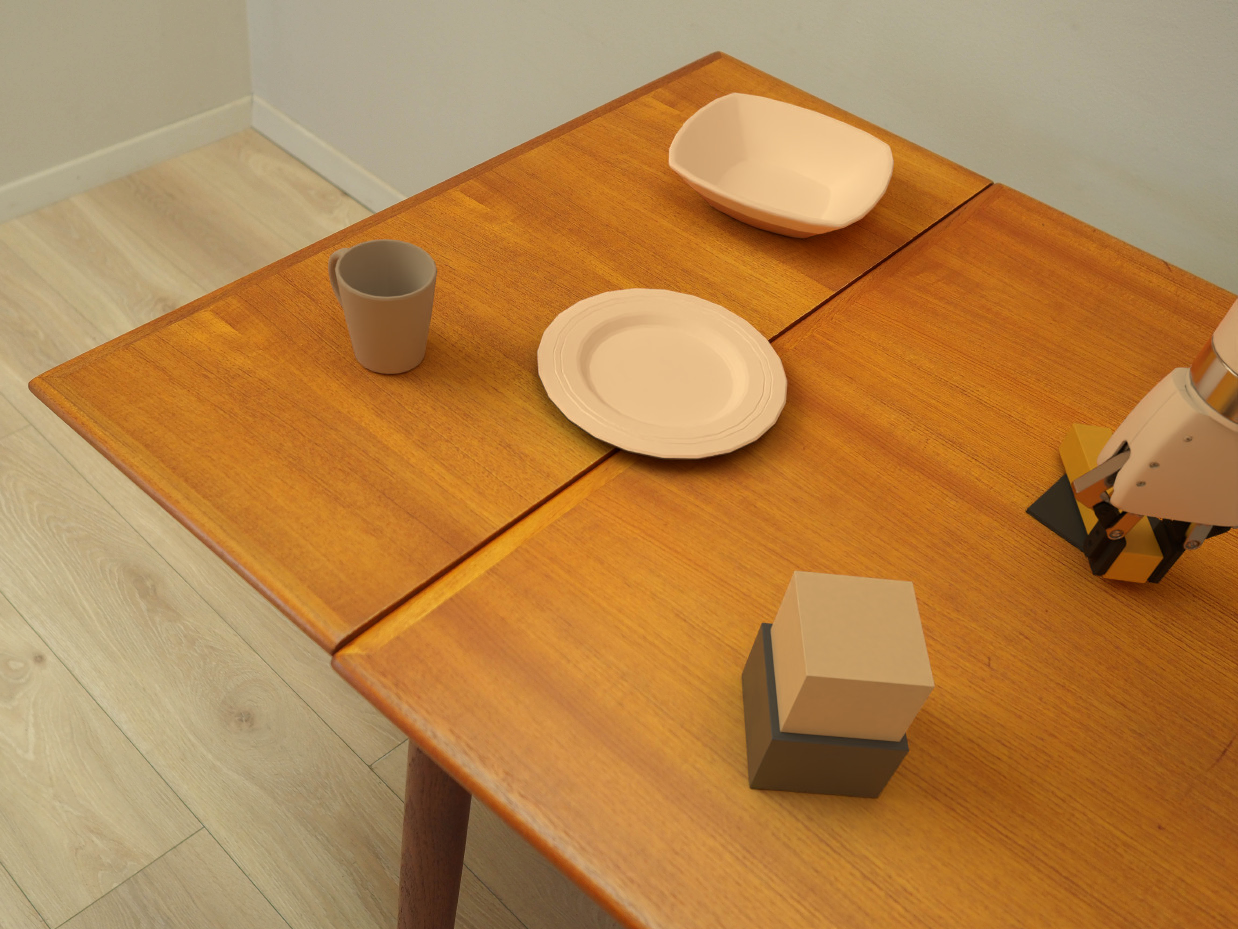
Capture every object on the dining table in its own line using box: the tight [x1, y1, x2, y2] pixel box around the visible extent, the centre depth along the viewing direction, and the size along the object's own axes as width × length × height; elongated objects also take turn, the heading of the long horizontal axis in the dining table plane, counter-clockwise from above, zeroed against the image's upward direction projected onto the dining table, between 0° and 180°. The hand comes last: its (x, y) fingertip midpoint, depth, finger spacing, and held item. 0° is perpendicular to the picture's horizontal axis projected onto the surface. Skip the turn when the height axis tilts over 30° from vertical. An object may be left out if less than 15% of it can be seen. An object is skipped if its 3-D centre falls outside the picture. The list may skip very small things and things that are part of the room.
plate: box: [536, 287, 788, 461], centre depth 87 cm, size 21×21×2 cm
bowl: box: [668, 92, 895, 239], centre depth 108 cm, size 22×22×5 cm
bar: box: [1057, 422, 1163, 584], centre depth 82 cm, size 14×3×3 cm, turn 176°
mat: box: [1025, 472, 1162, 553], centre depth 83 cm, size 8×8×1 cm
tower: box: [741, 570, 936, 799], centre depth 62 cm, size 8×8×12 cm
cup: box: [327, 238, 438, 375], centre depth 83 cm, size 8×10×8 cm
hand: (1120, 563), depth 78 cm, fingers open, 3 cm apart
